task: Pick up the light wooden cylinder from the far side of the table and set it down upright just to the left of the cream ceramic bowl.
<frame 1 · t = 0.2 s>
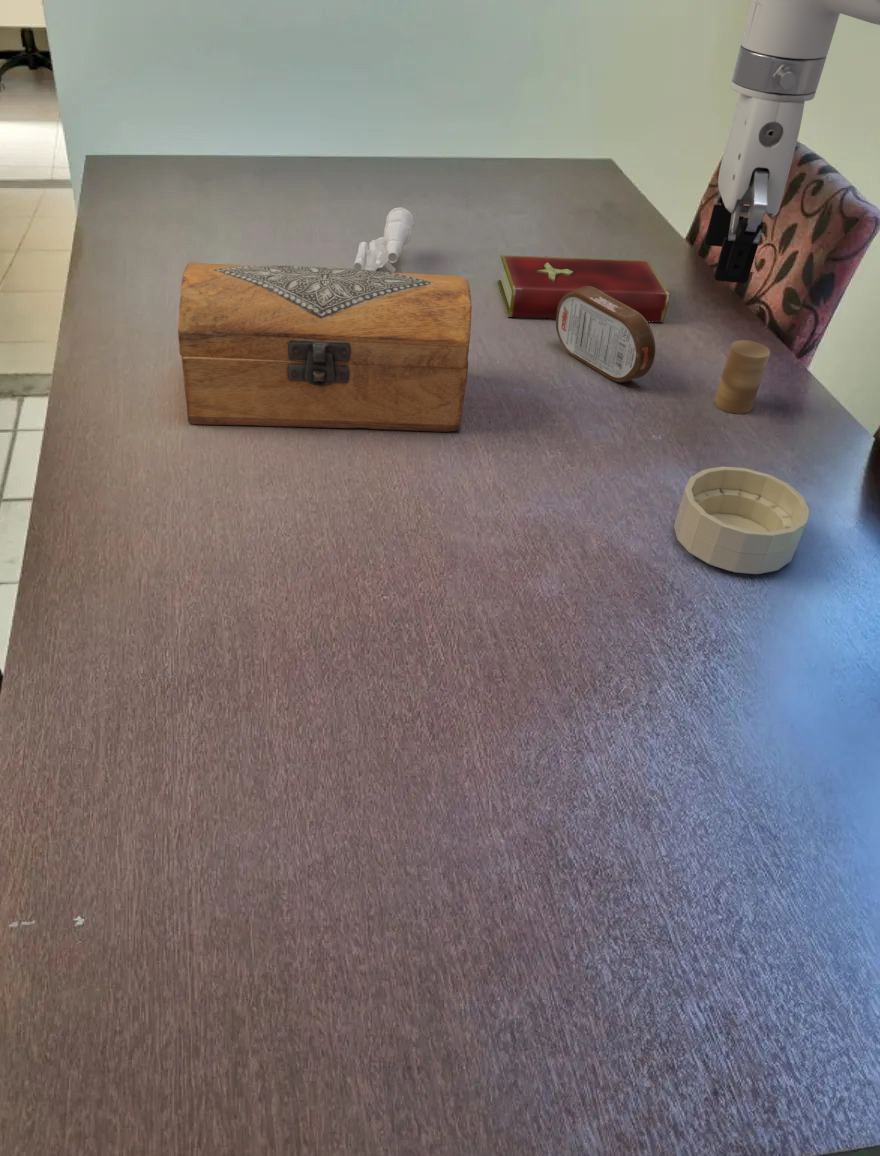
hand: (724, 262, 99), 18 cm above the table, tool pointing down, fingers open, 9 cm apart
toy cannon: (382, 271, 139), on the table
wooden box: (327, 400, 110), on the table
wooden cylinder: (732, 404, 115), on the table
bowl: (731, 542, 94), on the table
tin: (595, 368, 120), on the table
hardcover book: (578, 304, 134), on the table
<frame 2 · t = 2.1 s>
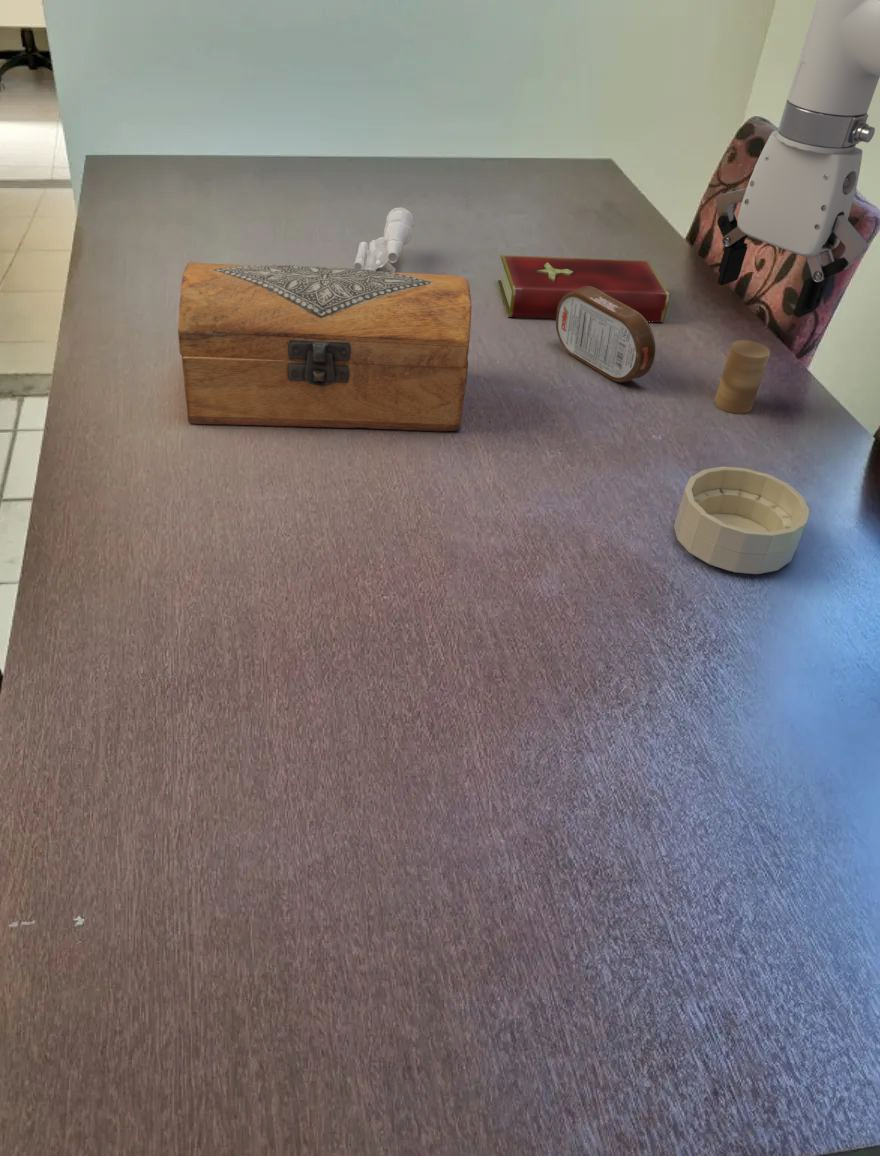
hand: (764, 297, 106), 13 cm above the table, tool pointing down, fingers open, 9 cm apart
nothing on the table moved.
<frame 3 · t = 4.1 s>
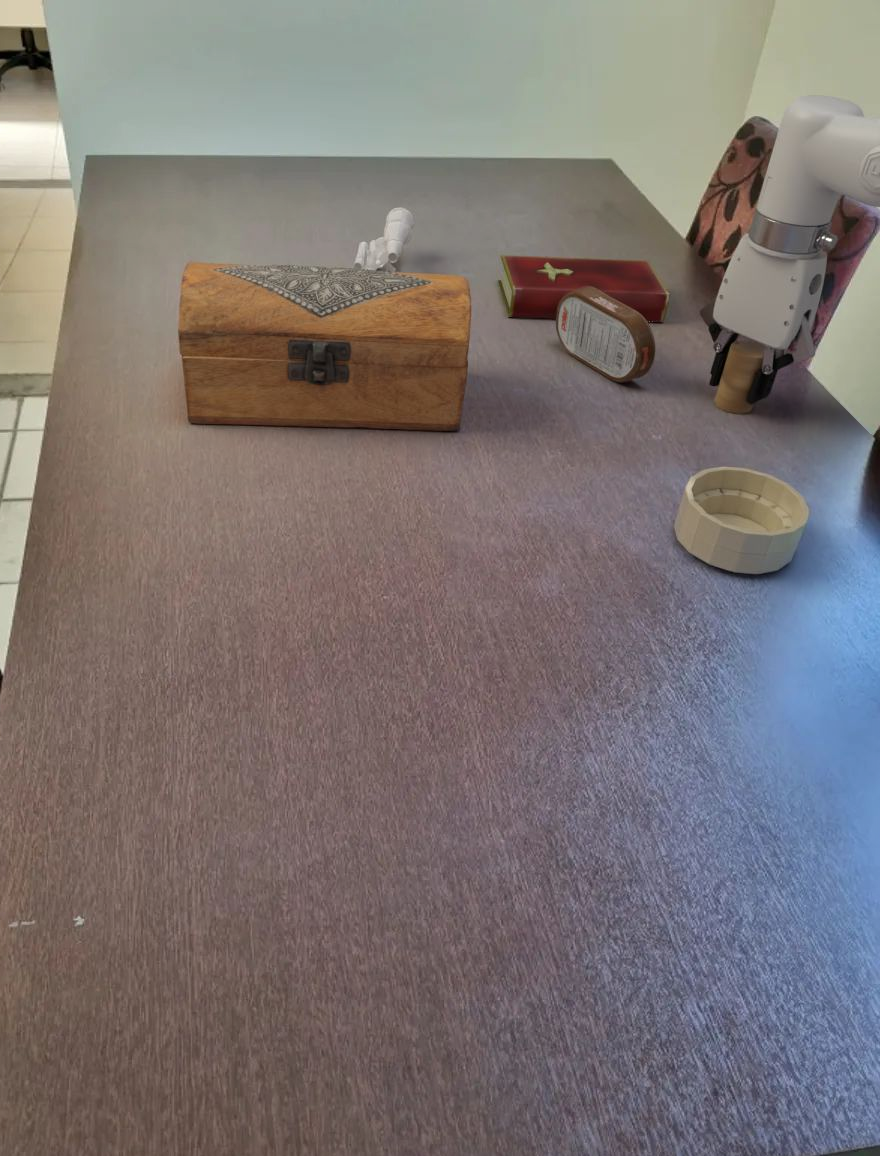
hand: (737, 390, 113), 2 cm above the table, tool pointing down, fingers closed on wooden cylinder, 4 cm apart
wooden cylinder: (732, 404, 115), on the table, touching gripper
everything else where it was.
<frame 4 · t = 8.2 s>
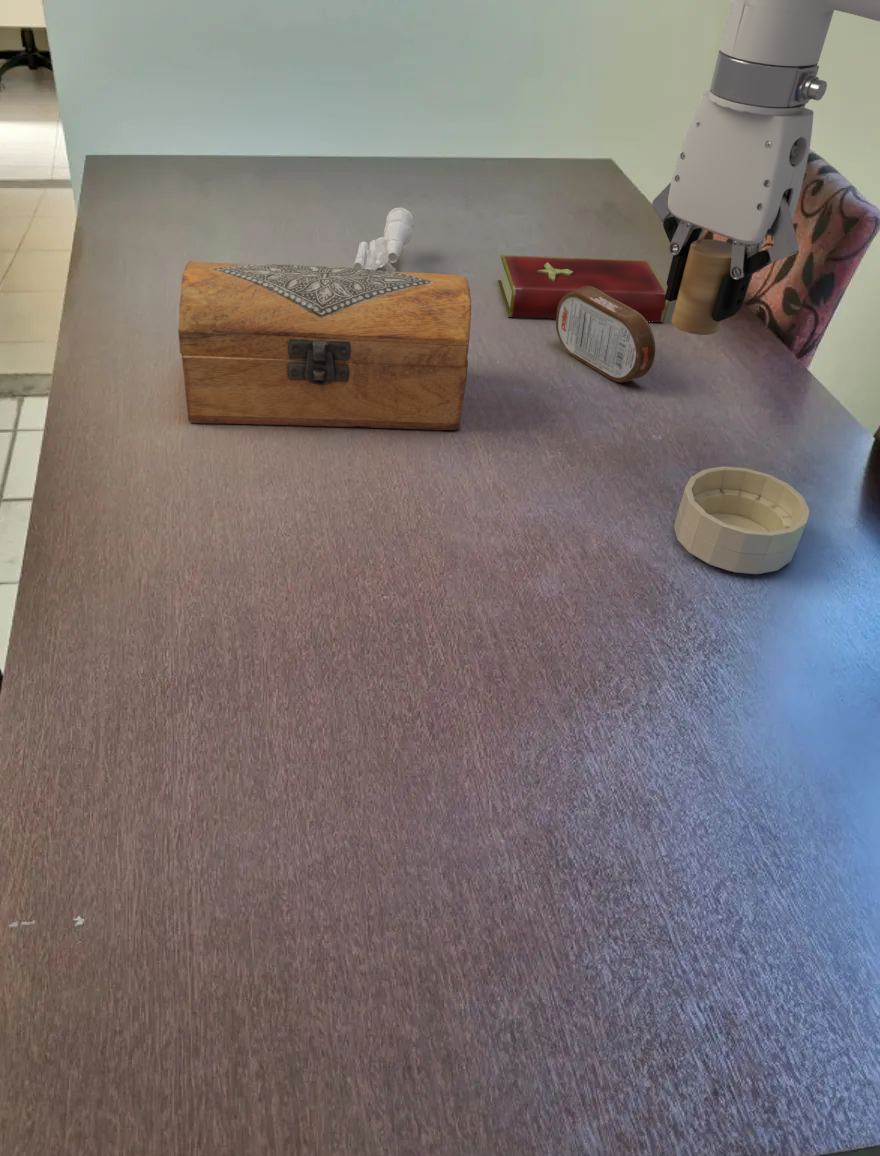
hand: (700, 305, 89), 19 cm above the table, tool pointing down, fingers closed on wooden cylinder, 4 cm apart
wooden cylinder: (695, 324, 90), point 17 cm above the table, touching gripper
everything else where it was.
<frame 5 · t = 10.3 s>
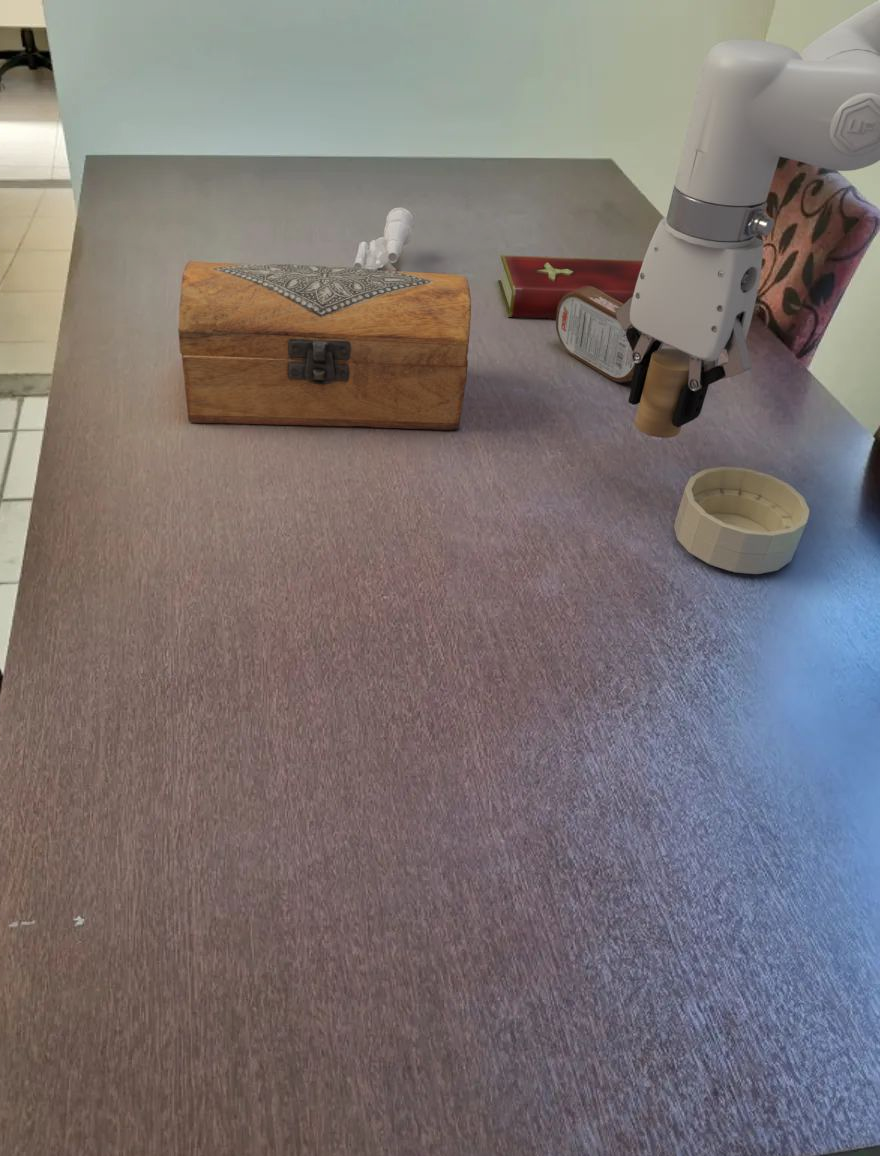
hand: (662, 409, 93), 9 cm above the table, tool pointing down, fingers closed on wooden cylinder, 4 cm apart
wooden cylinder: (657, 426, 94), point 8 cm above the table, touching gripper
everything else where it was.
when the fingers open (2 cm above the table, at t = 12.3 s): wooden cylinder stays where it is, on the table.
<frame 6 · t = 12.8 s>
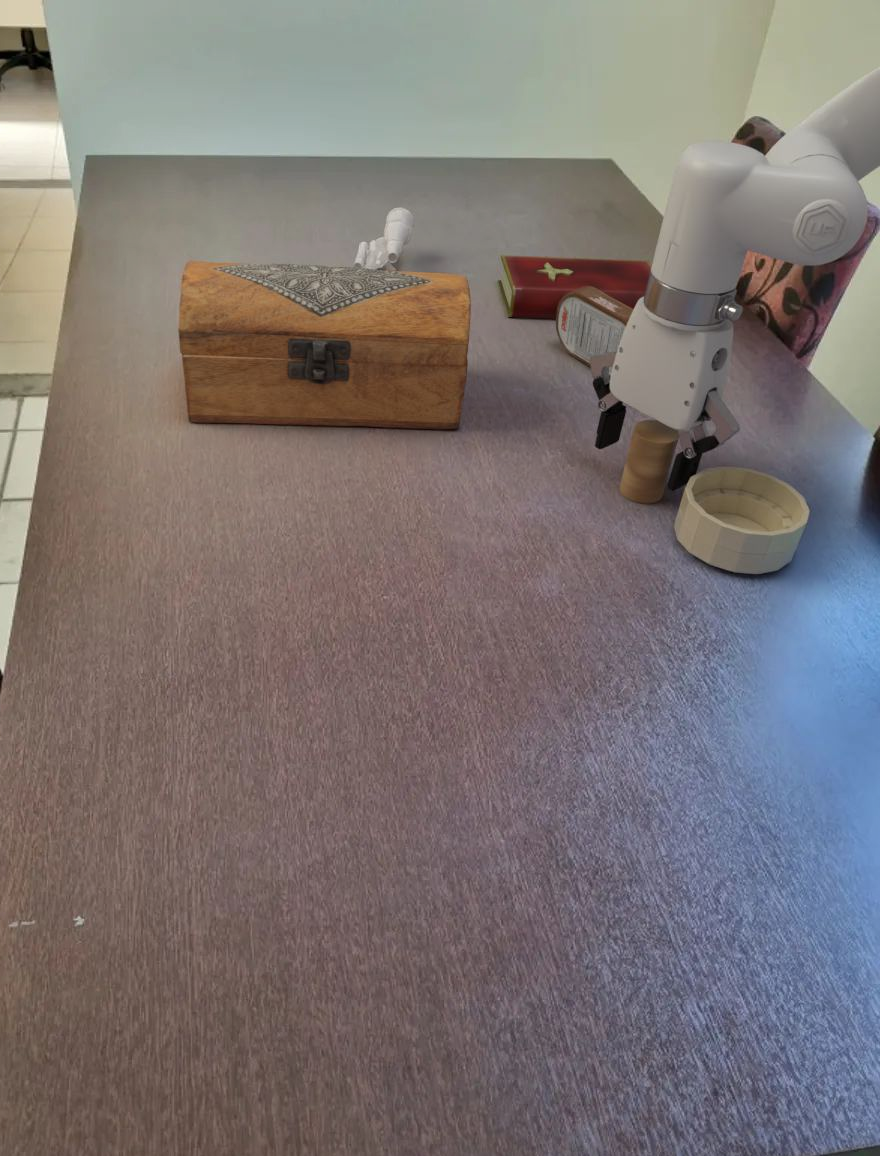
hand: (641, 464, 98), 3 cm above the table, tool pointing down, fingers open, 8 cm apart
wooden cylinder: (640, 491, 99), on the table
everything else where it was.
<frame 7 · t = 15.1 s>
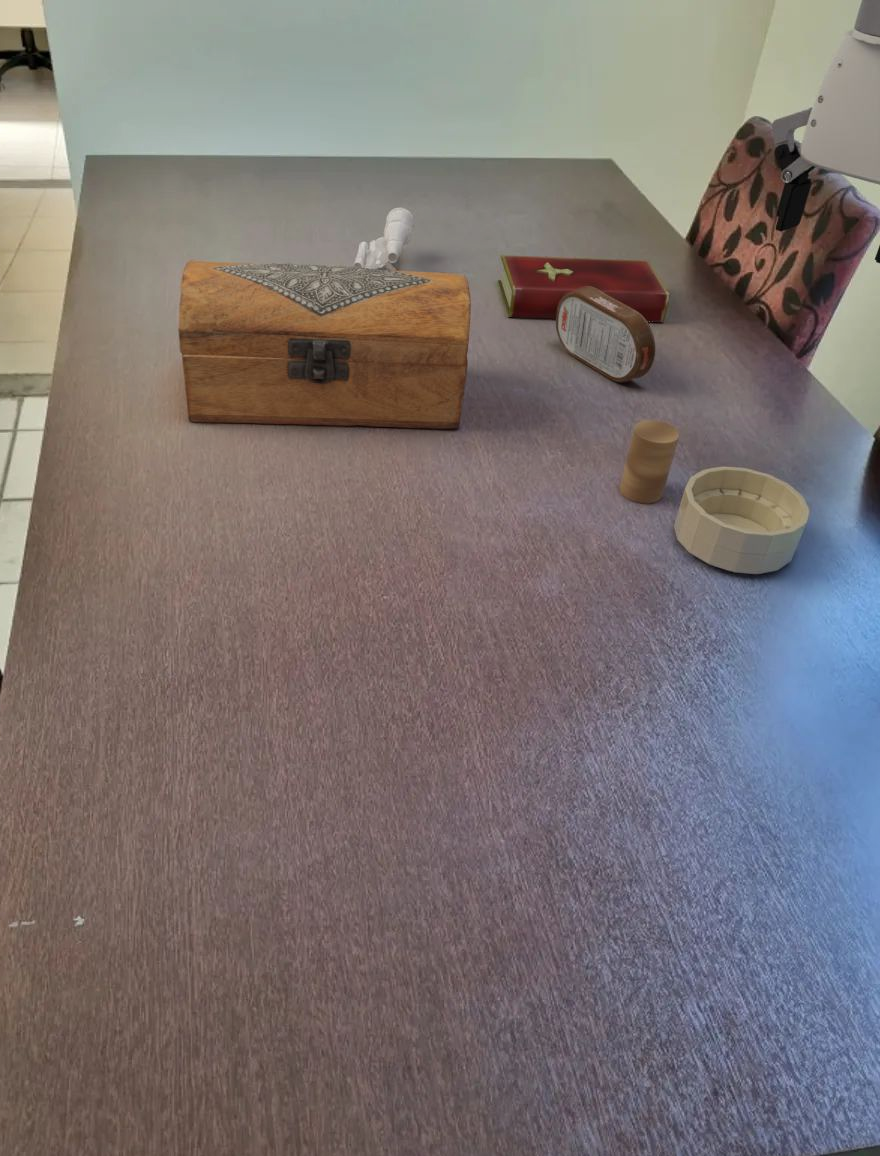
hand: (834, 243, 87), 24 cm above the table, tool pointing down, fingers open, 9 cm apart
nothing on the table moved.
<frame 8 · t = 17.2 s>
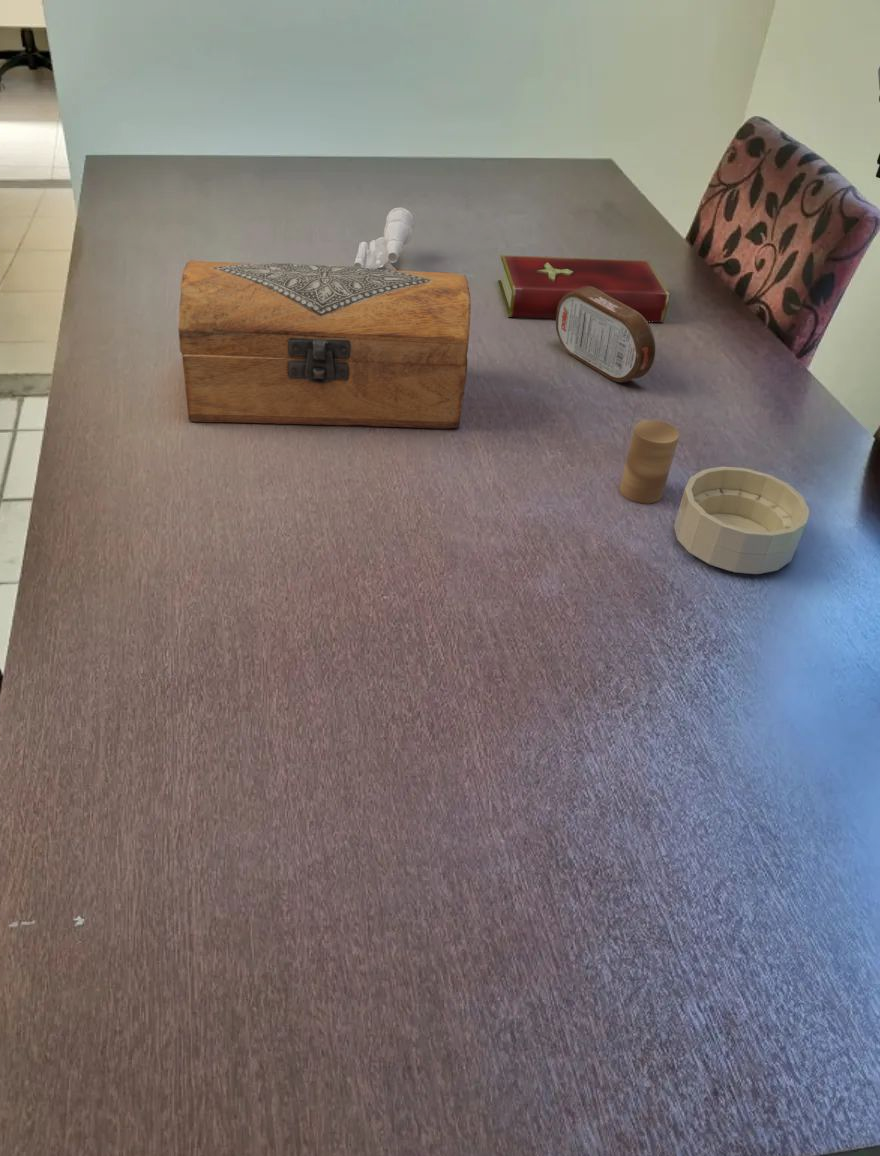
nothing on the table moved.
at the end: wooden cylinder inside the target area on the table beside the bowl (0.0 cm from its centre), on the table; wooden cylinder tilted 0°; the gripper is holding nothing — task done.
